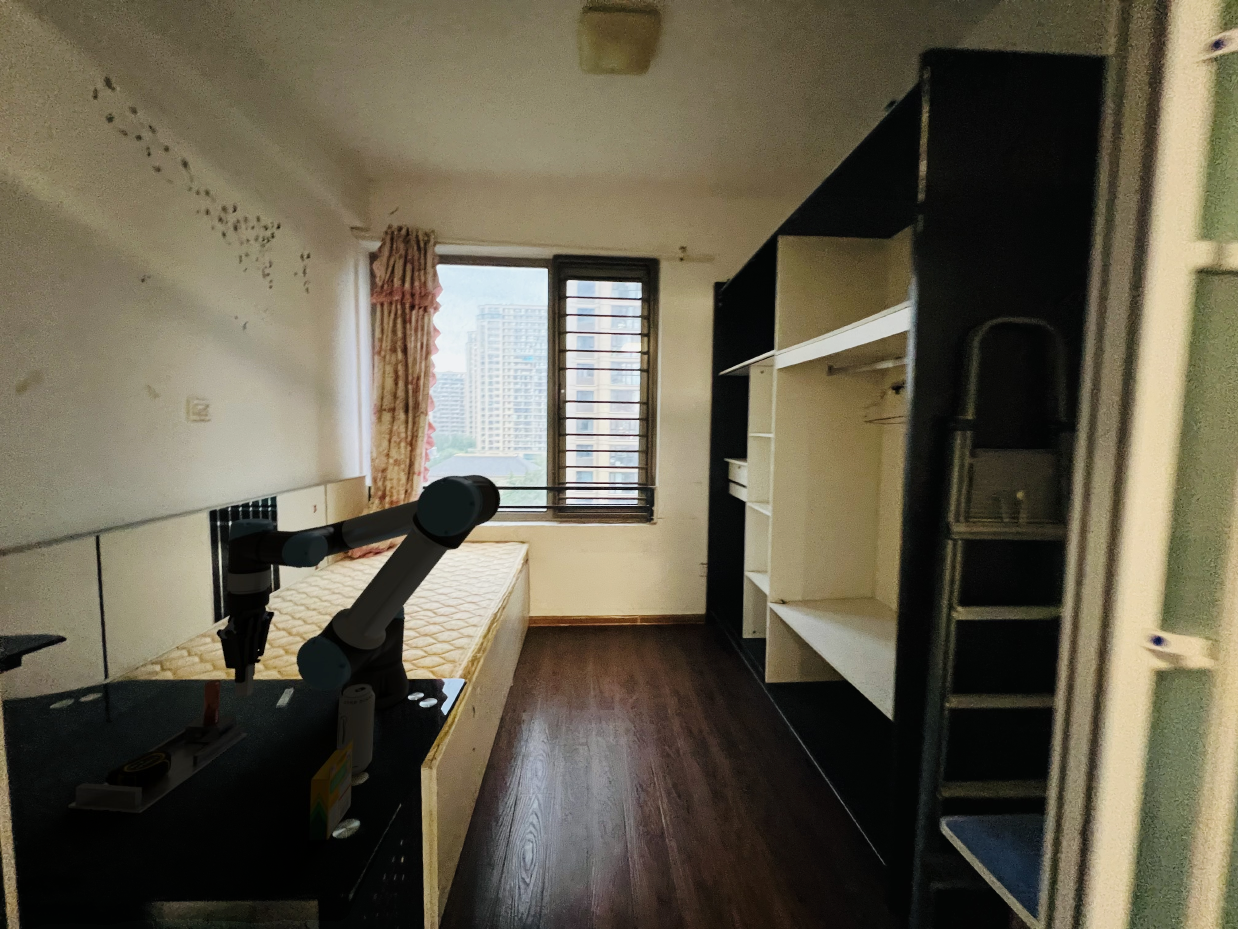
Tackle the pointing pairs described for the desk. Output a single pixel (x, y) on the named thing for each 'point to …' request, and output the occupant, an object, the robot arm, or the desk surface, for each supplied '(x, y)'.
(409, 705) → the desk surface
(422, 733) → the desk surface
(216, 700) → the ram
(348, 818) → the desk surface
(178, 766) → the press bed
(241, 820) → the desk surface
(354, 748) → the energy drink can
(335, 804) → the crayon box
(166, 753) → the tape measure
